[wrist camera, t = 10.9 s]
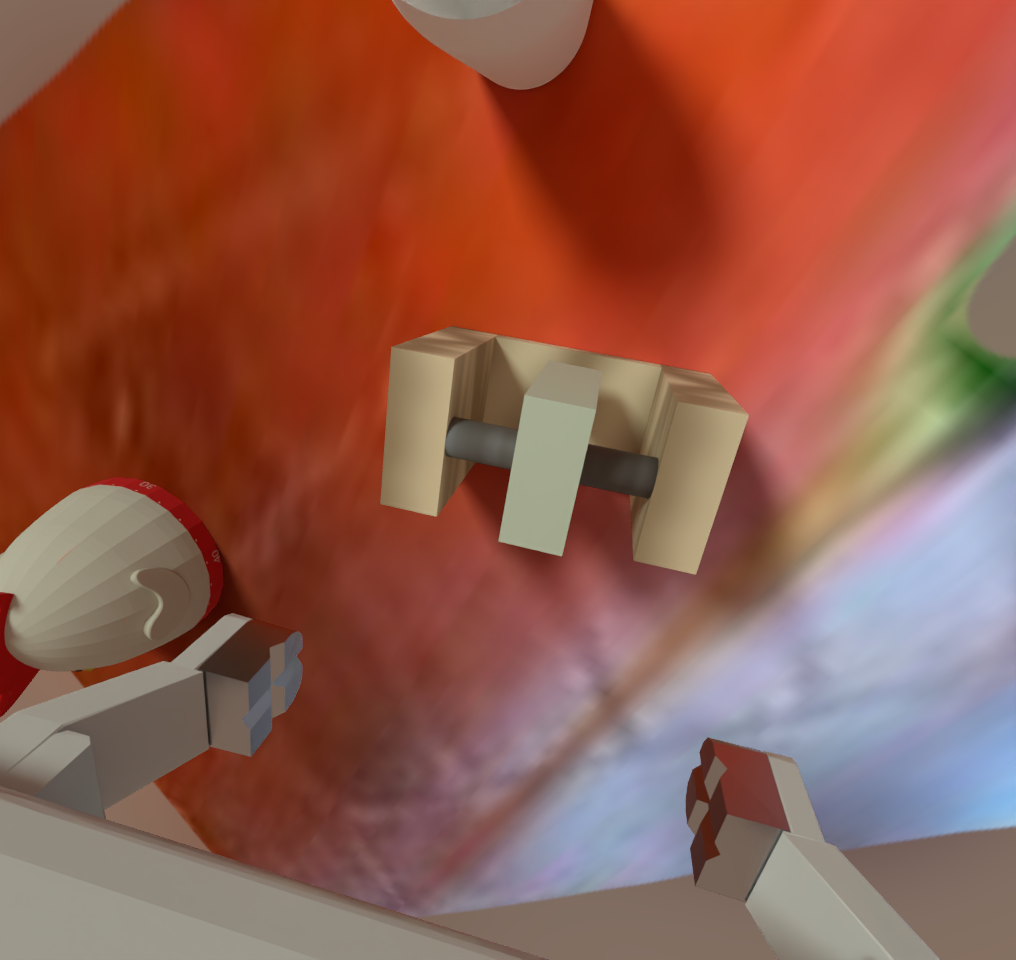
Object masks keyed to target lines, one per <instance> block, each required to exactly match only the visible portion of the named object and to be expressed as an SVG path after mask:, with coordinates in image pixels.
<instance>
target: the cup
mask: <svg viewBox="0 0 1016 960" xmlns="http://www.w3.org/2000/svg"><path fill="white" fill-rule="evenodd" d="M392 1H393V3H394V4H395V6H396V7H397V9H398V10H399V11H400V13H401V14H402V16H403V17H404V18H405V19H406V20H407V21H408V22H409V23H410V25H411V26H413V27H414V28H415V29H416V30H417V31H418V32H419V33H420V34H421V35H422V36H423V37H425V38H426V39H427V40H429V41H430V42H431V43H433V44H434V45H436V46H437V47H439V48H440V49H442V50H443V51H445V52H447V53H448V54H450V55H451V56H453V57H454V58H456V59H458V60H459V61H461V62H462V63H464V64H466V65H467V66H469V67H470V68H472V69H474V70H475V71H477V72H478V73H480V74H482V75H483V76H485V77H486V78H488V79H490V80H491V81H493V82H495V83H496V84H498V85H501V86H503V87H506V88H510V89H517V90H524V89H532V88H535V87H539V86H541V85H544V84H546V83H547V82H549V81H551V80H552V79H554V78H555V77H557V76H558V75H559V74H560V73H561V72H562V71H563V70H564V69H565V68H566V67H567V66H568V65H569V64H570V62H571V61H572V60H573V58H574V57H575V55H576V53H577V52H578V50H579V48H580V46H581V44H582V41H583V39H584V36H585V33H586V29H587V26H588V21H589V17H590V13H591V8H592V4H593V0H392Z"/></svg>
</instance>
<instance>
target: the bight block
mask: <svg viewBox="0 0 1016 960" xmlns="http://www.w3.org/2000/svg"><path fill="white" fill-rule="evenodd" d="M600 378H601V371H600V370H595V369H590V368H585V367H580V366H575V365H570V364H565V363H560V362H555V361H550V360H549V361H548V362H547V364H546V365H545V367H544V368H543V369H542V371H541V372H540V374H539V375H538V377H537V378H536V379H535V381H534V382H533V384H532V385H531V387H530V388H529V389H528V391H527V392H526V394H525V395H524V401H523V406H522V412H521V418H520V423H519V429H518V434H517V440H516V446H515V451H514V457H513V462H512V468H511V474H510V479H509V485H508V490H507V496H506V502H505V507H504V513H503V518H502V524H501V530H500V535H499V542H503V543H507V544H511V545H516V546H520V547H524V548H528V549H532V550H537V551H541V552H545V553H549V554H554V555H558V556H562V554H563V550H564V546H565V541H566V537H567V533H568V529H569V524H570V520H571V516H572V511H573V507H574V503H575V499H576V494H577V490H578V486H579V481H580V477H581V473H582V469H583V464H584V460H585V456H586V451H587V447H588V443H589V439H590V434H591V430H592V426H593V421H594V417H595V413H596V408H597V400H598V393H599V386H600Z"/></svg>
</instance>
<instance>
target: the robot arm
mask: <svg viewBox="0 0 1016 960" xmlns="http://www.w3.org/2000/svg"><path fill="white" fill-rule="evenodd" d="M301 649H302V634H300V633H299V632H298V631H295V630H291V629H288V628H284V627H281V626H277V625H274V624H270V623H267V622H263V621H260V620H257V619H251V618H247V617H244V616H241V615H237V614H234V613H231V614H228V615H225V616H224V617H222V618H221V619H220V620H219V621H218V622H217V623H216V624H214V625H213V626H212V627H211V628H210V629H209V630H208V631H206V632H205V633H204V634H203V635H202V636H201V637H200V638H198V639H197V640H196V641H195V642H194V643H193V644H191V645H190V646H189V647H188V648H187V649H186V650H185V651H183V652H182V653H181V654H180V655H179V656H178V657H177V658H175V659H174V660H173V661H172V662H171V663H169V662H165V661H162V662H159V663H156V664H153V665H151V666H148V667H145V668H142V669H139V670H136V671H133V672H130V673H127V674H124V675H122V676H119V677H116V678H113V679H110V680H107V681H104V682H101V683H98V684H95V685H93V686H90V687H87V688H84V689H81V690H78V691H75V692H72V693H69V694H67V695H64V696H61V697H58V698H55V699H52V700H49V701H46V702H43V703H40V704H37V705H35V706H32V707H29V708H26V709H23V710H20V711H17V712H15V713H14V714H12V715H11V716H10V717H8V718H7V719H6V720H4V721H3V722H2V723H0V960H548V959H545V958H542V957H539V956H535V955H532V954H529V953H526V952H523V951H520V950H516V949H513V948H510V947H507V946H504V945H501V944H497V943H494V942H491V941H488V940H485V939H481V938H478V937H475V936H472V935H469V934H466V933H462V932H459V931H456V930H453V929H450V928H447V927H444V926H440V925H437V924H434V923H431V922H428V921H424V920H422V919H418V918H415V917H412V916H409V915H406V914H403V913H400V912H396V911H393V910H390V909H387V908H384V907H381V906H378V905H374V904H371V903H368V902H365V901H362V900H359V899H356V898H352V897H349V896H346V895H343V894H340V893H337V892H333V891H330V890H327V889H324V888H321V887H318V886H315V885H311V884H308V883H305V882H302V881H299V880H296V879H293V878H289V877H286V876H283V875H280V874H277V873H274V872H270V871H267V870H264V869H261V868H258V867H255V866H251V865H248V864H245V863H242V862H239V861H236V860H233V859H229V858H226V857H223V856H220V855H217V854H214V853H210V852H207V851H204V850H201V849H198V848H195V847H191V846H188V845H185V844H182V843H178V842H175V841H172V840H169V839H166V838H163V837H160V836H157V835H154V834H150V833H147V832H144V831H141V830H137V829H135V828H131V827H128V826H125V825H122V824H119V823H115V822H112V821H109V820H106V817H105V812H104V810H105V809H107V808H109V807H110V806H112V805H114V804H116V803H117V802H119V801H121V800H122V799H124V798H126V797H127V796H129V795H131V794H132V793H134V792H136V791H138V790H139V789H141V788H143V787H144V786H146V785H148V784H150V783H151V782H153V781H155V780H156V779H158V778H160V777H162V776H163V775H165V774H167V773H168V772H170V771H172V770H174V769H175V768H177V767H179V766H180V765H182V764H184V763H185V762H187V761H189V760H191V759H192V758H194V757H196V756H197V755H199V754H201V753H202V752H204V751H206V750H208V749H209V746H211V747H215V748H219V749H222V750H226V751H230V752H234V753H238V754H242V755H246V756H250V757H251V756H252V755H253V753H254V752H255V751H256V750H257V748H258V747H259V746H260V744H261V743H262V742H263V740H264V739H265V738H266V736H267V735H268V734H269V732H270V731H271V730H272V718H273V717H276V716H278V715H280V714H282V713H284V712H285V711H286V710H287V708H288V707H289V706H290V704H291V703H292V701H293V700H294V698H295V695H296V693H297V691H298V689H299V686H300V682H301V677H302V664H301V663H300V661H299V660H298V658H297V656H296V655H297V654H298V653H299V651H300V650H301ZM700 758H701V765H700V766H698V767H696V768H695V769H693V770H692V773H691V776H690V779H689V782H688V787H687V794H686V817H687V824H688V826H689V827H690V829H691V830H692V831H693V833H694V834H695V838H694V840H693V843H692V845H691V848H690V850H691V858H692V865H693V873H694V880H695V886H696V887H699V888H702V889H705V890H708V891H712V892H715V893H718V894H721V895H724V896H727V897H730V898H733V899H737V900H740V901H743V902H746V904H745V906H746V907H747V909H748V911H749V912H750V914H751V916H752V917H753V919H754V921H755V922H756V924H757V926H758V927H759V929H760V931H761V932H762V934H763V936H764V937H765V939H766V941H767V942H768V944H769V946H770V947H771V949H772V951H773V952H774V954H775V956H776V957H777V959H778V960H940V959H939V958H938V956H937V955H936V954H935V953H934V952H933V951H932V950H931V949H930V948H929V947H928V946H927V945H926V943H924V941H923V940H922V939H921V938H920V937H919V936H918V935H917V934H916V933H915V932H914V931H913V929H912V928H911V927H910V926H909V925H908V924H907V923H906V922H905V921H904V920H903V919H902V918H901V917H900V915H899V914H898V913H897V912H896V911H895V910H894V909H893V908H892V907H891V906H890V905H889V904H888V902H886V900H885V899H884V898H883V897H882V896H881V895H880V894H879V893H878V892H877V891H876V890H875V888H874V887H873V886H872V885H871V884H870V883H869V882H868V881H867V880H866V879H865V878H864V877H863V875H861V873H860V872H859V871H858V870H857V869H856V868H855V867H854V866H853V865H852V864H851V863H850V861H849V860H848V859H847V858H846V857H845V856H844V855H843V854H842V853H841V852H840V851H839V850H838V848H837V847H836V846H835V845H832V844H828V843H826V842H825V840H824V837H823V834H822V832H821V829H820V826H819V823H818V821H817V818H816V815H815V813H814V810H813V807H812V804H811V802H810V799H809V796H808V794H807V791H806V788H805V785H804V783H803V780H802V777H801V775H800V772H799V769H798V766H797V764H796V762H795V761H794V760H793V759H792V758H790V757H786V756H781V755H777V754H773V753H769V752H765V751H763V752H762V751H760V750H756V749H752V748H748V747H744V746H740V745H736V744H732V743H728V742H724V741H720V740H716V739H712V738H707V739H706V740H705V741H704V743H703V745H702V747H701V750H700Z"/></svg>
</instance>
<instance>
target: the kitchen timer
mask: <svg viewBox="0 0 1016 960" xmlns="http://www.w3.org/2000/svg"><path fill="white" fill-rule="evenodd" d="M222 588H223V564H222V561H221V558H220V555H219V552H218V549H217V546H216V543H215V541H214V540H213V538H212V537H211V535H210V533H209V532H208V530H207V529H206V527H205V525H204V524H203V522H202V521H201V520H200V519H199V518H198V517H197V516H196V515H195V514H194V513H193V512H192V511H191V509H190V508H189V507H188V506H187V505H186V504H185V503H184V502H182V501H181V500H179V499H178V498H176V497H175V496H173V495H172V494H170V493H169V492H167V491H166V490H164V489H163V488H161V487H158V486H156V485H153V484H150V483H148V482H145V481H142V480H140V479H131V478H121V477H116V478H112V479H107V480H103V481H99V482H96V483H94V484H91V485H89V486H87V487H84V488H82V489H79V490H78V491H76V492H74V493H72V494H71V495H69V496H68V497H66V498H65V499H63V500H62V501H60V502H59V503H58V504H56V505H55V506H54V507H52V508H51V509H50V510H48V511H47V512H46V513H44V514H43V515H42V516H41V517H40V518H39V519H37V520H36V521H35V522H34V523H33V524H32V525H31V526H29V527H28V528H27V529H26V530H25V531H24V532H23V533H22V534H21V535H19V536H18V537H17V538H16V539H15V541H14V542H13V543H12V544H11V545H10V546H9V547H8V549H7V550H6V552H4V553H2V554H1V555H0V717H1V716H3V715H4V714H5V712H7V710H9V708H10V707H11V706H12V705H13V704H14V703H15V701H16V700H17V699H18V698H19V696H20V695H21V694H22V693H23V691H24V690H25V689H26V687H27V686H28V685H29V683H30V682H31V681H32V679H33V678H34V677H35V675H36V674H37V673H38V671H39V670H47V671H76V672H77V671H82V670H86V671H91V670H93V669H94V668H98V667H104V666H109V665H113V664H116V663H120V662H123V661H126V660H128V659H131V658H133V657H136V656H138V655H141V654H143V653H146V652H148V651H150V650H153V649H155V648H157V647H159V646H161V645H164V644H166V643H167V642H169V641H171V640H173V639H175V638H177V637H179V636H181V635H182V634H184V633H186V632H188V631H189V630H191V629H192V628H193V627H195V626H196V625H197V624H198V623H200V622H201V621H202V620H203V619H204V618H205V617H207V616H208V615H209V613H210V612H211V611H212V610H213V608H214V607H215V606H216V605H217V603H218V602H219V598H220V595H221V592H222Z"/></svg>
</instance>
